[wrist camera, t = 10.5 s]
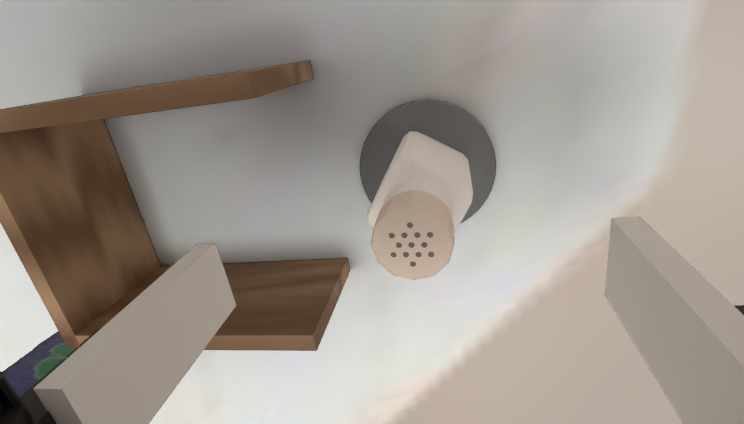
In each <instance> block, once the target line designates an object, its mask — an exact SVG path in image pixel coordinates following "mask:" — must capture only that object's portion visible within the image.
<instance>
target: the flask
mask: <svg viewBox="0 0 744 424" xmlns="http://www.w3.org/2000/svg"><path fill="white" fill-rule="evenodd" d="M73 350H74V349H68V347H67V346H66V344H65V342H64V340H63V338H62V336H61V334H60V332H59V331H58V332H57V333H55V334H53V335H52V336H51V337H49V338H48V339H46V340H45V341H43V342H41V343H40V344H39V345H38V346H36V347H35V348H34V349H33V350H32V351H31V352H29V353H28V354H26V355H25V356H24V357H22V358H20V359H19V360H18V361H17V362H16V363H14V364H13V365H11V366H10V367H8V368H7V369H6V370H4V371H3V372H2V373H3V374H4V375H5V377H6V379H7V380H8V382H9V383H10V385H11V386H12V388H13V389H14V391H15V392H16V394H17V395H18V397H19V398H20V397H21V396H22V395H23V394H24V393H25V392H27V391H28V390H29V389H30V388H31V387H32V386H33V385H35V384H36V383H37V382H38V381H39V380H40V379H41V378H43V377H44V376H45V375H46V374H47V373H48V372H49V371H51V370H52V369H53V368H54V367H55V366H56V365H57V364H58V363H60V362H61V361H62V360H63V359H67V356H68V355H69V354H70V353H71V352H72V351H73Z"/></svg>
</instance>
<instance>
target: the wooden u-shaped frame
mask: <svg viewBox="0 0 744 424" xmlns="http://www.w3.org/2000/svg"><path fill="white" fill-rule="evenodd" d="M310 79H313V74H312V68H311V63H310V60H309V61H303V62H296V63H290V64H283V65H277V66H270V67H264V68H257V69H251V70H244V71H238V72H232V73H225V74H219V75H212V76H206V77H199V78H193V79H186V80H180V81H173V82H167V83H160V84H154V85H147V86H141V87H135V88H128V89H122V90H115V91H109V92H102V93H96V94H89V95H83V96H77V97H71V98H65V99H59V100H53V101H47V102H41V103H35V104H29V105H23V106H17V107H12V108H6V109H0V222H1V224H2V226H3V228H4V230H5V232H6V234H7V235H8V237H9V239H10V241H11V243H12V245H13V247H14V248H15V250H16V252H17V254H18V256H19V258H20V260H21V262H22V263H23V265H24V267H25V269H26V271H27V273H28V275H29V276H30V278H31V280H32V282H33V284H34V286H35V288H36V290H37V291H38V293H39V295H40V297H41V299H42V301H43V303H44V304H45V306H46V308H47V310H48V312H49V314H50V316H51V318H52V319H53V321H54V323H55V325H56V327H57V329H58V331H59V332H60V334H61V336H62V338H63V340H64V342H65V344H66V346H67V347H68V349H76V348H79V347H80V344H81V343H82V342H84V341H85V340H86V339H87V338H88V337H89V336H90V335H92V334H93V333H94V332H95V331H97V330H99V329H100V328H102V327H103V326H105V325H106V324H107V323H108V322H109V321H110V320H111V319H113V318H114V317H115V316H116V315H117V314H118V313H119V312H120V311H122V310H123V309H124V308H125V307H126V306H127V305H128V304H130V303H131V302H132V301H133V300H134V299H135V298H136V297H137V296H139V295H140V294H141V293H142V292H143V291H144V290H145V289H147V288H148V287H149V286H150V285H151V284H152V283H153V282H154V281H156V280H157V279H158V278H159V277H160V276H161V275H162V274H164V273H165V272H166V271H167V270H168V269H169V268H170V267H171V266H161V265H160V263H159V260H158V258H157V255H156V253H155V250H154V248H153V245H152V242H151V240H150V237H149V235H148V232H147V230H146V227H145V224H144V222H143V219H142V217H141V214H140V212H139V209H138V207H137V204H136V201H135V199H134V196H133V194H132V191H131V189H130V186H129V184H128V181H127V178H126V176H125V173H124V171H123V168H122V166H121V163H120V160H119V158H118V155H117V153H116V150H115V148H114V145H113V143H112V140H111V137H110V135H109V132H108V130H107V127H106V125H105V122H104V120H103V119H106V118H113V117H121V116H128V115H135V114H142V113H150V112H157V111H164V110H171V109H179V108H186V107H193V106H200V105H208V104H215V103H222V102H229V101H237V100H244V99H251V98H256V97H259V96H262V95H265V94H268V93H271V92H274V91H277V90H280V89H283V88H286V87H289V86H292V85H295V84H298V83H301V82H304V81H307V80H310ZM223 267H224V270H225V273H226V276H227V279H228V282H229V285H230V288H231V291H232V294H233V297H234V300H235V302H236V307H235V308H234V309H233V311H232V312H231V313H230V315H229V316H228V317H227V319H226V320H225V322H224V323H223V324H222V326H221V327H220V328H219V330H218V331H217V332H216V334H215V335H214V336H213V338H212V339H211V340H210V342H209V343H208V344H207V346H206V347H205V349H204V350H297V351H317V349H318V346H319V344H320V341H321V339H322V337H323V334H324V332H325V329H326V327H327V325H328V322H329V320H330V317H331V315H332V313H333V310H334V308H335V305H336V303H337V301H338V298H339V296H340V294H341V291H342V289H343V286H344V284H345V282H346V279H347V277H348V274H349V272H350V268H349V262H348V258H341V259H318V260H295V261H272V262H249V263H226V264H223Z"/></svg>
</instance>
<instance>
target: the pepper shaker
mask: <svg viewBox="0 0 744 424" xmlns="http://www.w3.org/2000/svg"><path fill="white" fill-rule="evenodd" d="M472 197H473V188H472V182H471V175H470V168H469V162H468V159H467V158H466V157H465V155H464V154H463V153H461V152H459V151H457V150H455V149H452V148H450V147H448V146H446V145H444V144H442V143H440V142H438V141H436V140H434V139H432V138H430V137H428V136H426V135H424V134H422V133H420V132H415V131H410V132H408V133H407V134H406V135H405V136H404V137H403V139H402V141H401V143H400V145H399V147H398V149H397V151H396V153H395V155H394V158H393V160H392V162H391V164H390V166H389V168H388V170H387V172H386V174H385V176H384V178H383V180H382V182H381V185H380V187H379V189H378V191H377V193H376V196H375V198H374V200H373V202H372V204H371V207H370V209H369V211H368V213H367V221H368V223H369V225H370V226H371V227H372V229H373V234H372V240H371V246H372V249H373V251H374V254H375V256H376V259H377V261H378V263H379V264H381V265H382V266H383V267H384V268H386V269H387V270H388V271H389V272H391V273H392V274H393V275H395V276H399V277H404V278H408V279H412V280H416V279H421V278H425V277H429V276H434V275H435V274H436V273H437V272H439V271H440V270H441V269H442V268H443V267H444V266H445V265H446V264H448V263H449V261H450V257H451V254H452V250H453V247H454V233H455V231H456V229H457V228H458V226H459V224H460V223H461V221H462V219H463V218H464V216H465V214H466V212H467V210H468V209H469V207H470V205H471V203H472Z"/></svg>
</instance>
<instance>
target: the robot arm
mask: <svg viewBox="0 0 744 424" xmlns="http://www.w3.org/2000/svg"><path fill="white" fill-rule="evenodd" d="M605 296H606V298H607V300H608V301H609V303H610V305H611V306H612V308H613V310H614V311H615V313H616V314H617V316H618V318H619V320H620V321H621V323H622V324H623V326H624V328H625V329H626V331H627V333H628V334H629V336H630V337H631V339H632V341H633V343H634V344H635V346H636V347H637V349H638V351H639V352H640V354H641V356H642V357H643V359H644V360H645V362H646V364H647V365H648V367H649V369H650V371H651V372H652V374H653V375H654V377H655V378H656V380H657V382H658V384H659V385H660V387H661V389H662V390H663V392H664V394H665V395H666V397H667V398H668V400H669V402H670V403H671V405H672V406H673V408H674V410H675V411H676V413H677V415H678V417H679V418H680V420H681V421H682V423H683V424H744V305H742V306H734V305H732V304H731V303H730V302H729V301H728V300H727V299H726V298H725V297H724V296H723V295H722V294H721V293H720V292H719V291H718V290H717V289H716V288H715V287H714V286H713V285H711V284H710V283H709V282H708V281H707V280H706V279H705V278H704V277H703V276H702V275H701V274H700V273H699V272H698V271H697V270H696V269H695V268H694V267H693V266H692V265H690V264H689V263H688V262H687V261H686V260H685V259H684V258H683V257H682V256H681V255H680V254H679V253H678V252H677V251H676V250H675V249H674V248H673V247H672V246H670V244H668V243H667V242H666V241H665V240H664V239H663V238H662V237H661V236H660V235H659V234H658V233H657V232H656V231H655V230H654V229H653V228H652V227H651V226H650V225H649V224H647V223H646V222H645V221H644V220H643V219H642V218H641V217H640V216H637V217H621V218H611V229H610V240H609V251H608V262H607V274H606V285H605ZM235 307H236V302H235V300H234V297H233V294H232V291H231V288H230V285H229V282H228V279H227V276H226V273H225V270H224V267H223V264H222V261H221V258H220V255H219V252H218V249H217V246H216V243H207V244H196V245H195V246H194V247H193V248H192V249H191V250H190V251H188V252H187V253H186V254H185V255H184V256H183V257H182V258H181V259H179V260H178V261H177V262H176V263H175V264H174V265H173V266H171V267H170V268H169V269H168V270H167V271H166V272H165V273H164V274H162V275H161V276H160V277H159V278H158V279H157V280H156V281H154V282H153V283H152V284H151V285H150V286H149V287H148V288H147V289H145V290H144V291H143V292H142V293H141V294H140V295H139V296H137V297H136V298H135V299H134V300H133V301H132V302H131V303H130V304H128V305H127V306H126V307H125V308H124V309H123V310H122V311H120V312H119V313H118V314H117V315H116V316H115V317H114V318H113V319H111V320H110V321H109V322H108V323H107V324H106V325H105V326H103V327H102V328H100V329H99V330H97V331H95V332H94V333H93V334H92V335H90V336H89V337H88V338H87V339H86V340H85V341H84V342H82V343H81V344H80V347H79V348H76V349H74V350H73V351H72V352H71V353H70V354H69V355H68V356H67V359H63V360H62V361H61V362H60V363H58V364H57V365H56V366H55V367H54V368H53V369H52V370H51V371H49V372H48V373H47V374H46V375H45V376H44V377H43V378H41V379H40V380H39V381H38V382H37V383H36V384H35V385H33V386H32V387H31V388H30V389H29V390H28V391H27V392H25V393H24V394H23V395H22V396H21V397H20V398H19V397H18V395H17V394H16V392H15V391H14V389H13V388H12V386H11V385H10V383H9V382H8V380H7V379H6V377H5V375H4V374H3V373H2V372H0V424H149V423H150V422H151V420H152V419H153V417H154V416H155V415H156V413H157V412H158V411H159V409H160V408H161V407H162V405H163V404H164V403H165V401H166V400H167V399H168V397H169V396H170V394H171V393H172V392H173V390H174V389H175V388H176V386H177V385H178V384H179V382H180V381H181V380H182V378H183V377H184V376H185V374H186V373H187V372H188V370H189V369H190V367H191V366H192V365H193V363H194V362H195V361H196V359H197V358H198V357H199V355H200V354H201V353H202V351H203V350H204V349H205V347H206V346H207V344H208V343H209V342H210V340H211V339H212V338H213V336H214V335H215V334H216V332H217V331H218V330H219V328H220V327H221V326H222V324H223V323H224V322H225V320H226V319H227V317H228V316H229V315H230V313H231V312H232V311H233V309H234V308H235Z"/></svg>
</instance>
